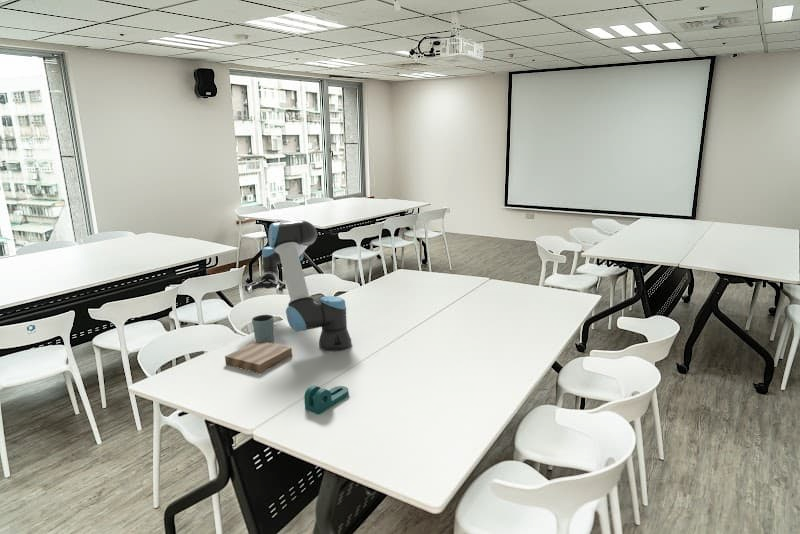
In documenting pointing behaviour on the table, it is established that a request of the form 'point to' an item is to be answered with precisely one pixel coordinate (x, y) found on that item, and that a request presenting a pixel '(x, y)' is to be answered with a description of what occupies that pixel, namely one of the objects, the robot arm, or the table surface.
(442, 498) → the table surface
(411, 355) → the table surface
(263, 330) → the blue green cup
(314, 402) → the bracket
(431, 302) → the table surface
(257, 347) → the walnut riser
